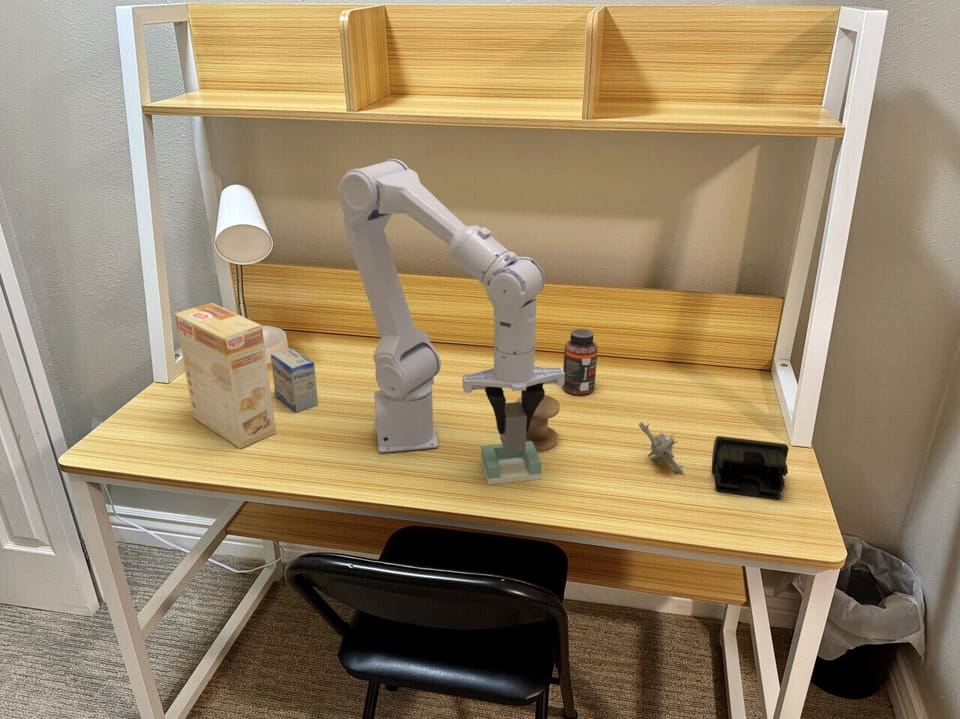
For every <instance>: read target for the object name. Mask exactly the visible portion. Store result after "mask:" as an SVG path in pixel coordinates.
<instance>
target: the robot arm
mask: <svg viewBox="0 0 960 719" xmlns="http://www.w3.org/2000/svg"><path fill="white" fill-rule="evenodd" d="M336 194H337V196H338V200H339V203H340V206H341V210H342V212H343V227H344V231H345V234H346V237H347V240H348V242H349V246H350V249H351V252H352V255H353V258H354V261H355V265H356V267H357V270H358V273H359V276H360V278H361V282H362V285H363V288H364V292H365V294H366V297H367V300H368V303H369V306H370V309H371V312H372V315H373V319H374V321H375V324H376V327H377V330H378V331H377V332H378V334H379V336H380V338H379V341H378V343H377V346H376V348H375V350H374V352H373V354H372V355H373V356H372V357H373V358H372V359H373V361H374V364H375V380H376V383H377V386H378V388H379V389H380V390H375V391H374V393H373V396H374V410H375V422H374V423H373V424H374V435H376V437H377V438H376V439H377V446H378V453H381V454H382V453H394V452H404V451H405V452H406V451H415V450H416V451H417V450H427V449H436V448H438V447H439V442H438V438H437V432H436V429H435V424H434V412H433V411H434V410H433V385H434V384H435V377H436V376H437V375H438V374H439V373H440V371H441V368H442V367H441V366H442V363H441V358H440V355H439V353H438V351H437V350H436V349H435V347H434V346H433V344H432V343H431V341H430V337H429V335H428V333H427V332H425V331H423V330H421V329H419V328H417V327H415V324H414V321H413V317H412V315H411V311H410V307H409V305H408V302H407V298H406V294H405V292H404V290H403V289H404V288H403V286H402V283H401V280H400V276H399V273H398V270H397V268H396V263H395V261H394V258H393V255H392V252H391V249H390V245H389V242H388V238H387V236H386V233H385V228H386V226H387V224H388V223H389V221H390V219H391V217H392V216H393V214H395V215H396V214H397V215H398V214H406V215H407V216H409V217H410V218H412V219H413V220H414V221H416V222H417V223H419V224H420V225H421V226H423V227H424V228H425V229H427V230H428V231H429V232H430V233H432V234H433V235H435V236H437V237H438V238H439V239H441V240H442V241H443V242H444V243H446V244H448V246H449V249H450V256H451V259H452V260H454V261H455V263H457V264H458V265H459V266H461V267H462V268H463V269H464V270H465V271H466V272H468V273H469V274H470V275H471V276H472V277H474V278H475V279H476V280H477V281H478V282H479V283H480V284H482V285H483V286H484V287H485V292H486V296H487V298H488V300H489V302H490V304H491V305H492V307H493V317H494V327H493V328H494V333H493V336H494V337H493V343H494V344H493V368H488V369H485V370H481V371H477V372H474V373H468V374H463V375H462V389H463V391H464V394H468V393H469V394H470V393H472V392H473V391H478V390H484V392H485V395H486V397H487V400H488V401H489V403H490V405H491V407H492V410H493V414H494V418H495V423H496V429H497V431H498V434H499V435H500V434H504V428H505V426H504V410H505V403H507V402H506V401H507V400H506V397H505V395H504V390H503V388H504V389H511V391H513V392H521V393H520V397H522V406H523V408H524V410H525V413H526V415H527V426H526V432H528V430H529V426H530V423H531V420H532V417H533V415H534V412H535V410H536V409H537V407H538V405H539V404H540V402H541V401H542V400H543V399H544V395H546V394H545V388H544V385H553V384H555V385H557V386H563V385H564V377H565V373H564V371H563V368H562V366H561V367H560V366H559V367H549V366H548V367H546V366H536V365H535V357H536V356H535V353H536V350H535V349H536V331H537V330H536V328H537V327H536V326H537V298H536V297H538V296H539V294H541V292H542V291H543V290H544V288H545V283H546V281H545V274H544V272H543V270H542V268H541V267H540V265H539V264H538V263H537V262H536V260H534V258H531V257H528V256H518V255H517V254H516V253H515V252H513V251H509V249H507V247H504V246H503V245H502V244H501V243H500V242H499V241H498V240H496V239H495V238H494V237H493V236H492V235H491V234H492V231H490V230H489V229H488V228H487V227H486V226H483V227H481V226H480V225H469V226H468V225H465V224H464V223H463V222H462V221H461V220H460V219H459V218H457V216H456V215H454V213H453V212H451V211H450V210H449V209H448V207H446V206H445V205H444V203H442V202H441V201H440V200H438V199H437V197H435V195H433V193H432V192H430V191H429V190H428V189H427V188H426V187H425V186H424V185H423V184H422V183H421V180H420V176H419V174H418V173H417V172H416V171H414V170H413V169H411V168H409V167H408V166H407V164H406V163H404V161H402V160H399V159H397V158H391V159H390V158H389V159H387V160H385V161H383V162H379V163H376V164H372V165H369V166H365V167H361V168H352V169H350V170H348V171H347V172H345V173H344V175H343V177H342V179H341V181H340V182H339V186H338V188H337V190H336Z"/></svg>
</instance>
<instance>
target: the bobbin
mask: <svg viewBox="0 0 960 719" xmlns="http://www.w3.org/2000/svg"><path fill="white" fill-rule="evenodd" d="M515 402H521V404H522V396H520V397H519V398H517V399H516V401H515ZM559 412H560V402H559V401H558V400H557V399H556V398H555V397H552V396H551V395H547V394H545V395H544V399H543V400H542V401H541V402H540V404H539V405H538V407H537V409H536V410H535V412H534V415H533V417H532V420H531V423H530V426H529V430H528V432H526V442H529V441H532V442H533V445H534V447H535V449H536V451H537V452H545V451H549V450H551V449H553V448H555V447H556V446H557V444H558V441H559V440H558V439H559V436H558V433H557V431H556V430H554V429H553V428H552V427H549V426H548V425H549V419H552V418H554V417H557V415H558V414H559Z"/></svg>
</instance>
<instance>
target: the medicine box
mask: <svg viewBox="0 0 960 719" xmlns="http://www.w3.org/2000/svg"><path fill="white" fill-rule="evenodd" d="M270 361H271V362H270V363H271V368H272V379H273V387H274V388H273V389H274V397H276V399H278V400H279V401H280V402H282V403H284V404H285V405H287V406H288V407H289V408H290V409H292V410H293V411H295V412H296V413H299V412H302V411H305V410H308V408H309V409H311V408H314V407H316V406H318V405H319V400H318V397H319V396H318V388H317V378H316V369H315V368H316V367H315V362H314V361H312V360H311V359H309V358H307V357H306V356H305V355H303V354H301V353H300V352H298V351H297V350H295V349H294V348H292V347H291V348H286V349H283V350H279V351H276V352H274V353H271V354H270Z"/></svg>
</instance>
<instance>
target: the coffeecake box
mask: <svg viewBox="0 0 960 719" xmlns="http://www.w3.org/2000/svg"><path fill="white" fill-rule="evenodd" d="M174 317H175V322H176V328H177V334H178V339H179V344H180V350H181V356H182V360H183V367H184V372H185V377H186V382H187V387H188V394H189V400H190V405H191V409H192V410H191V411H192V416H193V419H195V420H196V421H197V422H199V423H200V424H202V425H204V426H205V427H207V428H208V429H210V430H212V432H215V433H216V434H217V435H219V436H220V437H222V438H224V439H225V440H226V441H228V442H229V443H232V444H233V445H235V446H236V447H237V448H239V449H240V450H241V449H243V448H246V447H248V446H250V445H252V444H254V443H256V442H259V441H262V440H263V439H266V438H269V437H271V436H273V435H276V434H277V431H276V424H275V423H276V422H275V415H274V406H273V400H272V399H273V398H272V393H271V392H272V391H271V385H270V378H269V377H270V376H269V371H268V363H267V355H266V354H267V353H266V346H265V340H264V332H263V325H262V324H260V323H257V322H256V321H253V320H251V319H248V318H246V317H244V316H242V315H240V314H238V313H236V312H233V311H230V310H228V309H227V308H225V307H223V306H220V305H218V304H216V303H214V302H211V303H210V302H209V303H205V304H202V305H197V306H195V307H192V308H189V309H184V310H181V311H178V312H175V313H174Z"/></svg>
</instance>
